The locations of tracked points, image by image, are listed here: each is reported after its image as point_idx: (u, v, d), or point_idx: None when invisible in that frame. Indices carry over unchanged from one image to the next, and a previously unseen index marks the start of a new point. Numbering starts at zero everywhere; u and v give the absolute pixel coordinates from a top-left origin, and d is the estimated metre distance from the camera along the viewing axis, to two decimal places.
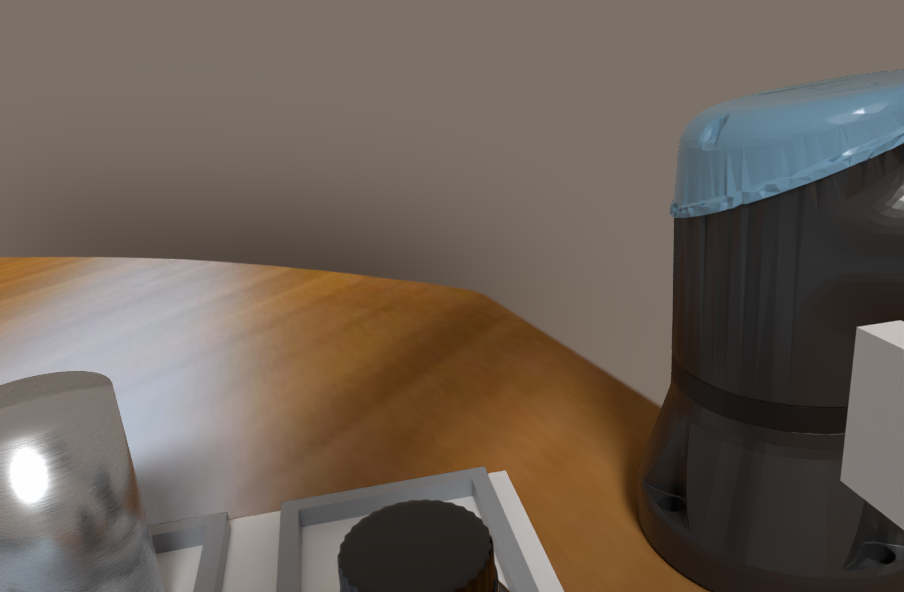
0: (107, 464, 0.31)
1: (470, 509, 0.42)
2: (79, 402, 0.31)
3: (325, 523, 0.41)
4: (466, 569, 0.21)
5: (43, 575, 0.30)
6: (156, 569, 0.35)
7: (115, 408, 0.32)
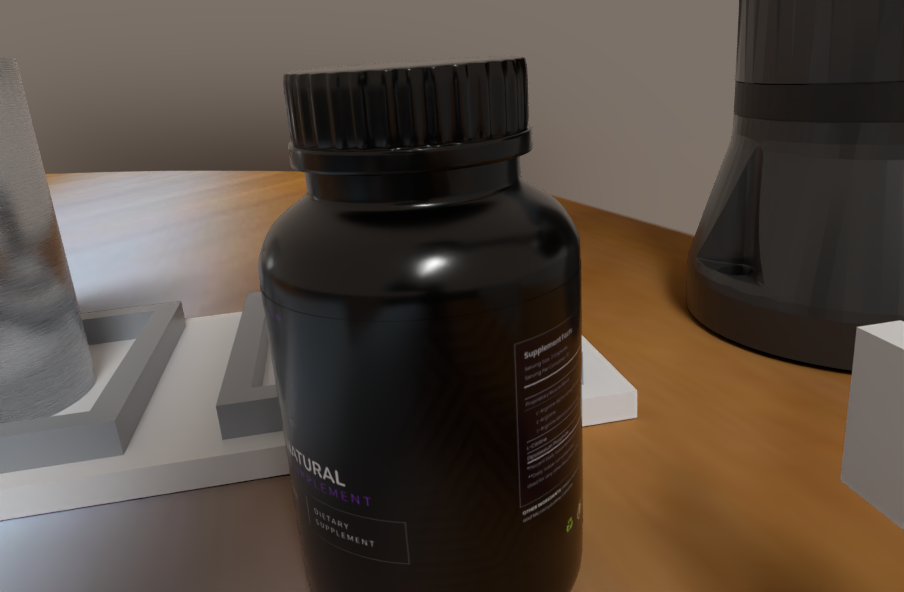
0: (0, 143, 0.23)
1: None
2: None
3: None
4: (485, 59, 0.13)
5: None
6: (77, 323, 0.27)
7: (17, 84, 0.25)
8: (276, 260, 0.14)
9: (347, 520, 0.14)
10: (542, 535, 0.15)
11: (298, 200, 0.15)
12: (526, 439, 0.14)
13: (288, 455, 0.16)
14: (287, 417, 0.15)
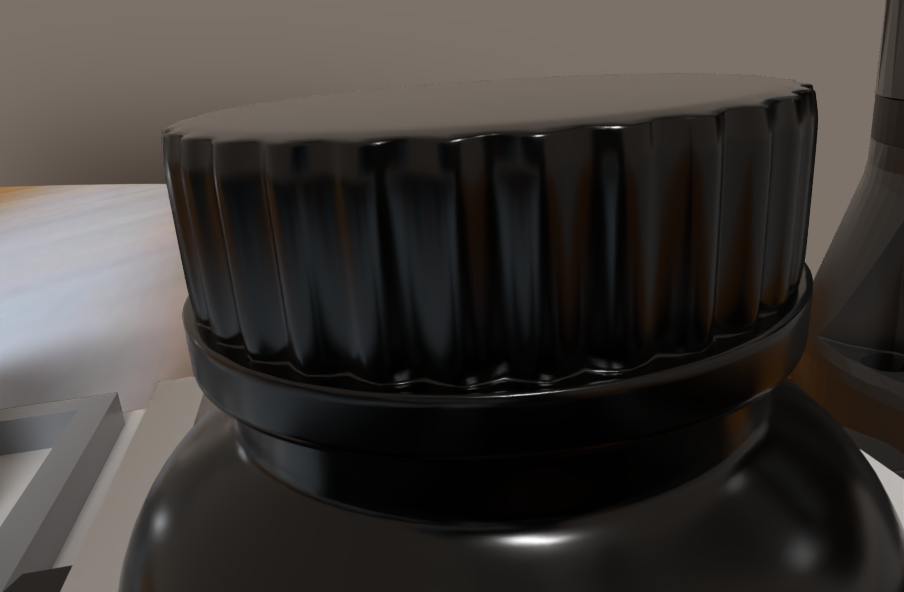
0: None
1: None
2: None
3: None
4: (736, 90, 0.04)
5: None
6: None
7: None
8: None
9: None
10: None
11: None
12: None
13: None
14: None
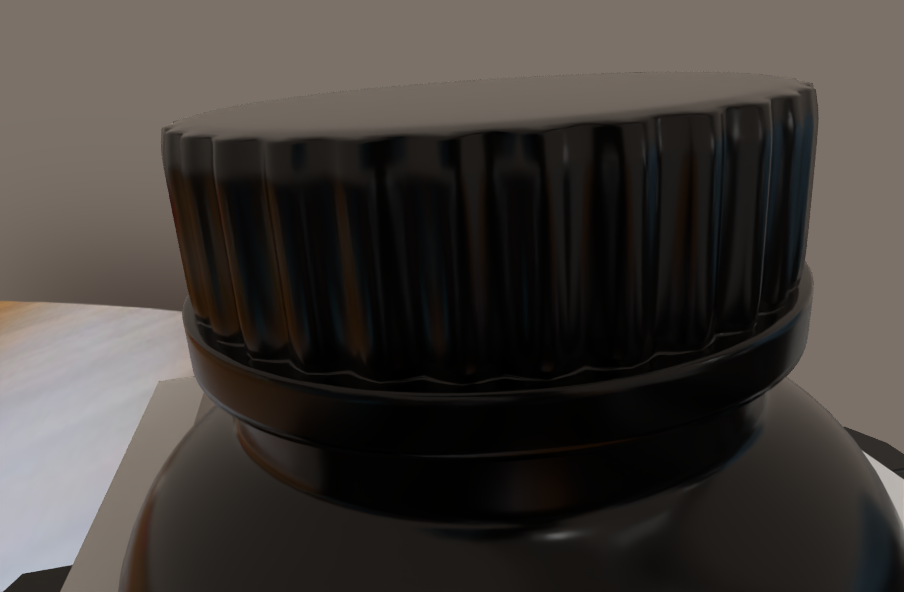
0: None
1: None
2: None
3: None
4: (736, 88, 0.04)
5: None
6: None
7: None
8: None
9: None
10: None
11: None
12: None
13: None
14: None
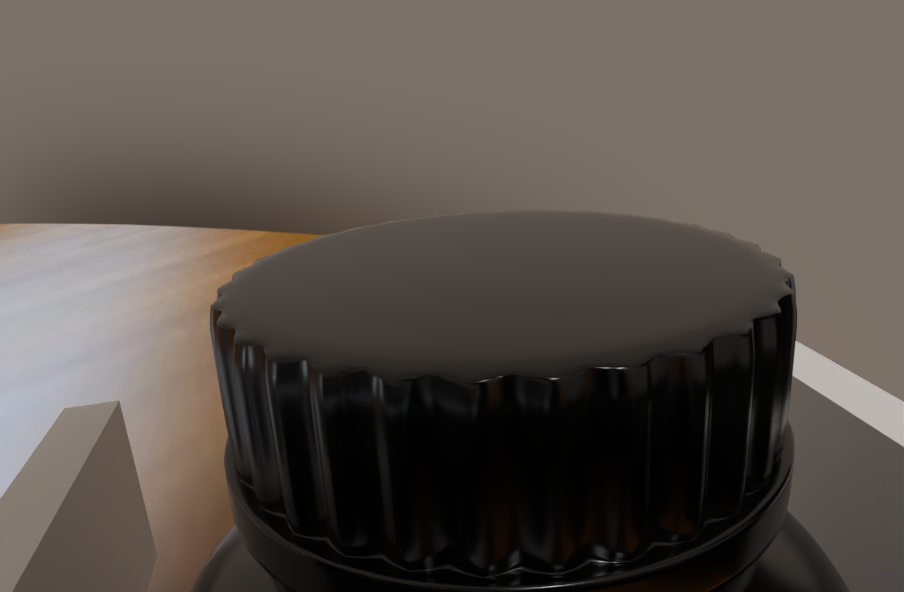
0: None
1: None
2: None
3: None
4: (724, 295, 0.05)
5: None
6: None
7: None
8: None
9: None
10: None
11: None
12: None
13: None
14: None
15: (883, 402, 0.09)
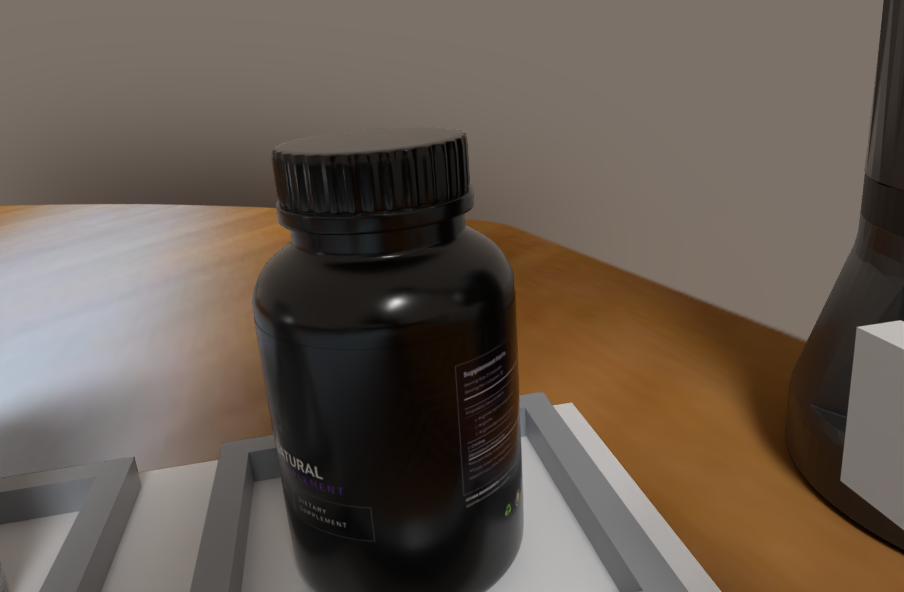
0: None
1: (525, 454, 0.26)
2: None
3: None
4: (431, 141, 0.17)
5: None
6: None
7: None
8: (266, 298, 0.17)
9: (324, 506, 0.18)
10: (484, 518, 0.18)
11: (285, 246, 0.19)
12: (467, 441, 0.17)
13: (277, 454, 0.19)
14: (276, 423, 0.18)
15: None
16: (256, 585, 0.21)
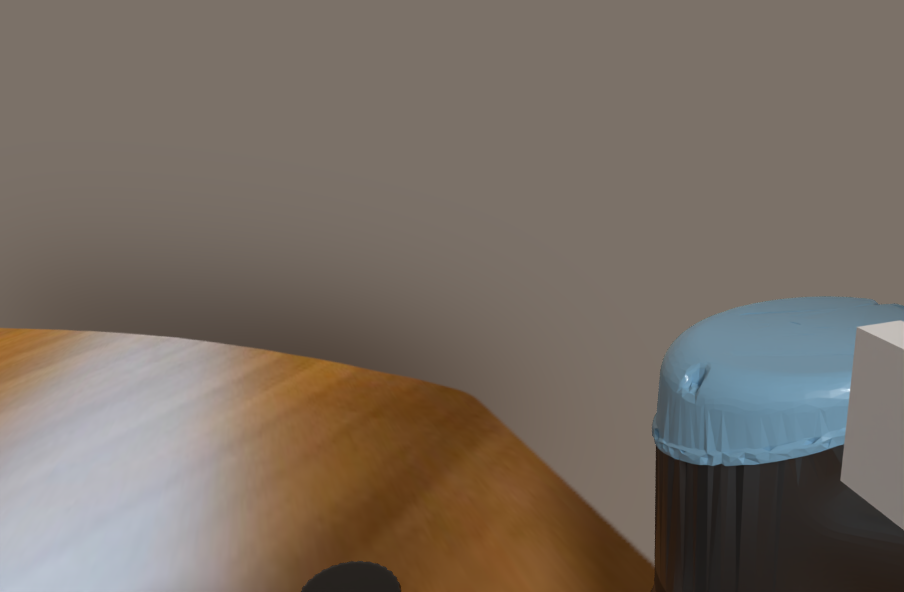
0: None
1: None
2: None
3: None
4: None
5: None
6: None
7: None
8: None
9: None
10: None
11: None
12: None
13: None
14: None
15: None
16: None
